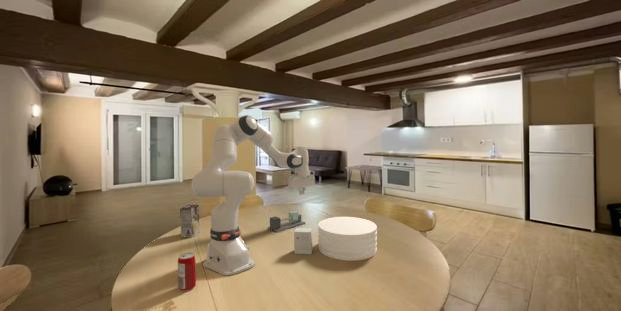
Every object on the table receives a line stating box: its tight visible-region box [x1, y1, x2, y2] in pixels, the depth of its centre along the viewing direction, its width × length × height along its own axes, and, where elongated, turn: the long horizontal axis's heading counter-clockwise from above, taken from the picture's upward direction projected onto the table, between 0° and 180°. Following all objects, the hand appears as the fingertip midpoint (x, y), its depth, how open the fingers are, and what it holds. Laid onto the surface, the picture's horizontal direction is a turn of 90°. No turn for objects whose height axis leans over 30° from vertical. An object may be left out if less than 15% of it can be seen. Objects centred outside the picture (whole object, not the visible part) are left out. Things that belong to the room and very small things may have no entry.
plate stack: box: [317, 216, 378, 261], centre depth 127 cm, size 28×28×12 cm
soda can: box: [177, 252, 197, 292], centre depth 93 cm, size 6×6×12 cm
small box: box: [293, 227, 313, 255], centre depth 123 cm, size 8×6×10 cm
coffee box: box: [179, 204, 201, 238], centre depth 146 cm, size 9×6×16 cm
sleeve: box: [288, 210, 299, 222], centre depth 164 cm, size 4×4×6 cm
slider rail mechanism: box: [267, 213, 306, 233], centre depth 160 cm, size 9×22×7 cm, turn 134°
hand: (301, 194), depth 169 cm, fingers closed
